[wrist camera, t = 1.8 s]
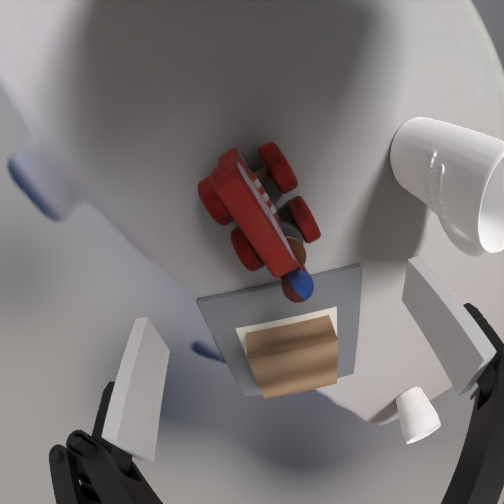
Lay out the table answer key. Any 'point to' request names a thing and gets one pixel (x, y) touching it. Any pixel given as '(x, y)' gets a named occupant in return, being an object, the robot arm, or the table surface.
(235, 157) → the toy fire truck
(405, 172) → the mug
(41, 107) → the table surface
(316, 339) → the base block
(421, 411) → the cup
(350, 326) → the mat
